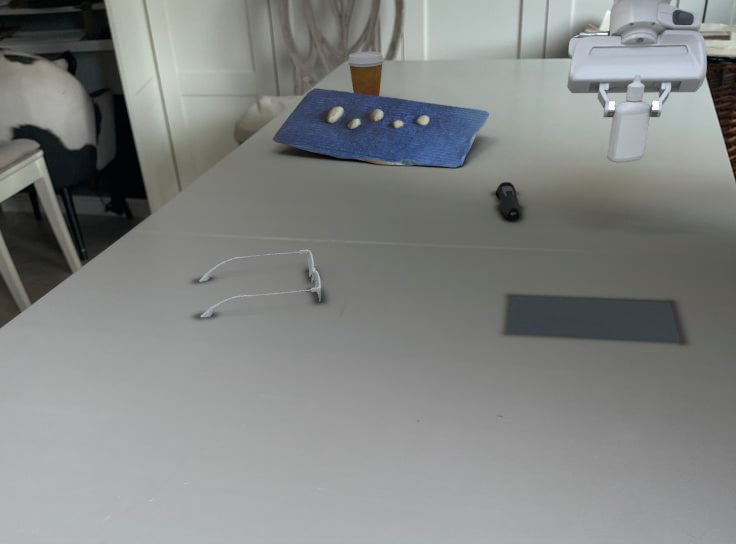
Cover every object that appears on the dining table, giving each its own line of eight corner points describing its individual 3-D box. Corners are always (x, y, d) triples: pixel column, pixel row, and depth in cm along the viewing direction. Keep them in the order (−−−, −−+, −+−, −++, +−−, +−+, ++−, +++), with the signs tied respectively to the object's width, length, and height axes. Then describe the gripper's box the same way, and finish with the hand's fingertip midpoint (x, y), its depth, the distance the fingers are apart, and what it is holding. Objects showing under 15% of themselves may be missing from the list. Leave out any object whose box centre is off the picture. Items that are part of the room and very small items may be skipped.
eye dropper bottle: (644, 163, 126) (658, 77, 119) (607, 163, 127) (619, 78, 120) (642, 155, 129) (656, 71, 122) (605, 155, 130) (617, 72, 123)
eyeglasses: (324, 310, 118) (322, 284, 116) (200, 323, 116) (195, 297, 114) (311, 270, 130) (309, 245, 127) (198, 281, 128) (194, 257, 126)
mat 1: (492, 145, 190) (495, 96, 181) (459, 213, 176) (461, 165, 167) (317, 122, 202) (311, 76, 193) (273, 185, 188) (265, 138, 179)
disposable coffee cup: (347, 102, 221) (345, 52, 213) (382, 99, 221) (381, 50, 214) (351, 110, 213) (349, 59, 206) (386, 107, 214) (386, 56, 207)
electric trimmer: (501, 225, 143) (502, 207, 141) (494, 195, 155) (495, 178, 153) (522, 225, 143) (524, 206, 140) (514, 195, 154) (515, 178, 152)
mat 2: (669, 306, 114) (670, 302, 114) (679, 345, 105) (680, 341, 105) (511, 300, 118) (512, 296, 118) (508, 337, 109) (508, 333, 108)
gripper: (571, 18, 124) (564, 103, 122) (712, 14, 120) (707, 102, 119) (567, 46, 130) (561, 127, 129) (701, 43, 126) (696, 127, 125)
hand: (632, 115), depth 124 cm, fingers closed on eye dropper bottle, 5 cm apart
